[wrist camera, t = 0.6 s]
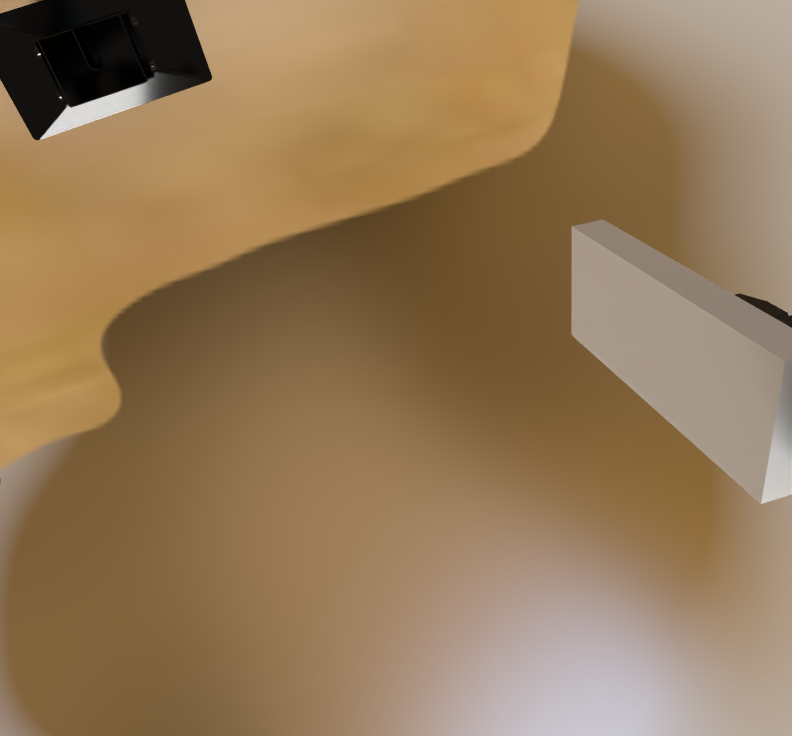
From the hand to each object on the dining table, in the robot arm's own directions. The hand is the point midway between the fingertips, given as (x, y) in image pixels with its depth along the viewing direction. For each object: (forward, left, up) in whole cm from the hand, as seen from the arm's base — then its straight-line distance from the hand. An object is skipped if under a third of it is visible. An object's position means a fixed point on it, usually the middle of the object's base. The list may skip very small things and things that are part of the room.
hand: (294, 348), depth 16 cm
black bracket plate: (-6, -2, -28) cm, 28 cm away
